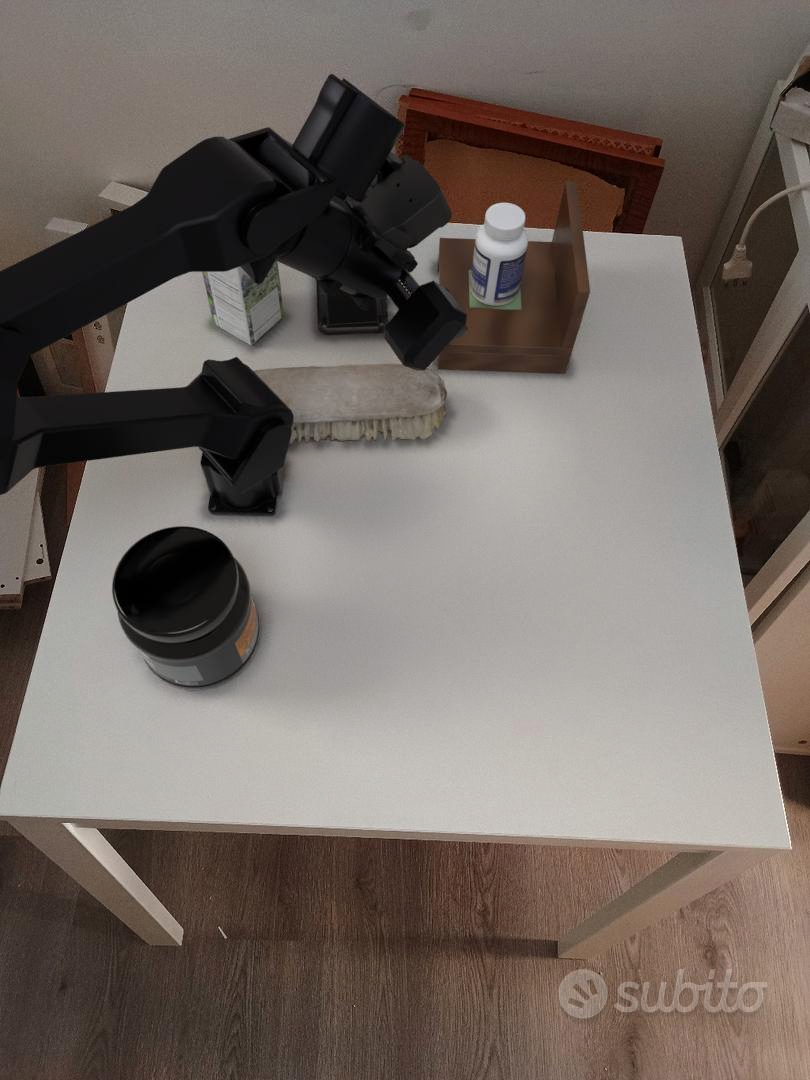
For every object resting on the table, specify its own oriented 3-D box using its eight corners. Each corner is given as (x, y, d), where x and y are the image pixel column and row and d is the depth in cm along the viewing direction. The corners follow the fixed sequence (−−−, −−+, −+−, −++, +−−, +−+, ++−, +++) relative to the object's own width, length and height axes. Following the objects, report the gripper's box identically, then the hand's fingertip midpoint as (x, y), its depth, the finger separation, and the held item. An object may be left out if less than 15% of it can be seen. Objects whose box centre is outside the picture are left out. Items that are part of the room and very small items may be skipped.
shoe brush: (442, 384, 89) (445, 352, 84) (450, 440, 85) (454, 410, 81) (216, 395, 87) (208, 364, 83) (215, 453, 84) (206, 423, 79)
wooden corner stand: (437, 369, 90) (445, 286, 79) (437, 264, 98) (444, 176, 87) (565, 373, 90) (590, 291, 80) (555, 269, 98) (576, 181, 87)
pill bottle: (522, 277, 91) (537, 203, 83) (513, 312, 89) (528, 239, 80) (474, 267, 92) (484, 192, 83) (464, 302, 89) (473, 228, 81)
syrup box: (246, 295, 94) (226, 185, 82) (286, 318, 93) (272, 210, 80) (212, 324, 92) (186, 216, 79) (253, 349, 90) (233, 243, 78)
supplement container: (275, 595, 76) (258, 530, 66) (245, 704, 71) (222, 653, 61) (164, 576, 77) (130, 509, 66) (126, 683, 72) (83, 629, 61)
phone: (317, 328, 91) (314, 233, 98) (318, 335, 92) (315, 240, 99) (389, 325, 91) (381, 231, 98) (389, 333, 92) (381, 238, 99)
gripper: (455, 232, 57) (557, 297, 69) (332, 84, 64) (445, 167, 77) (355, 351, 61) (468, 392, 74) (252, 200, 69) (370, 260, 82)
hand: (438, 298), depth 76 cm, fingers open, 9 cm apart
